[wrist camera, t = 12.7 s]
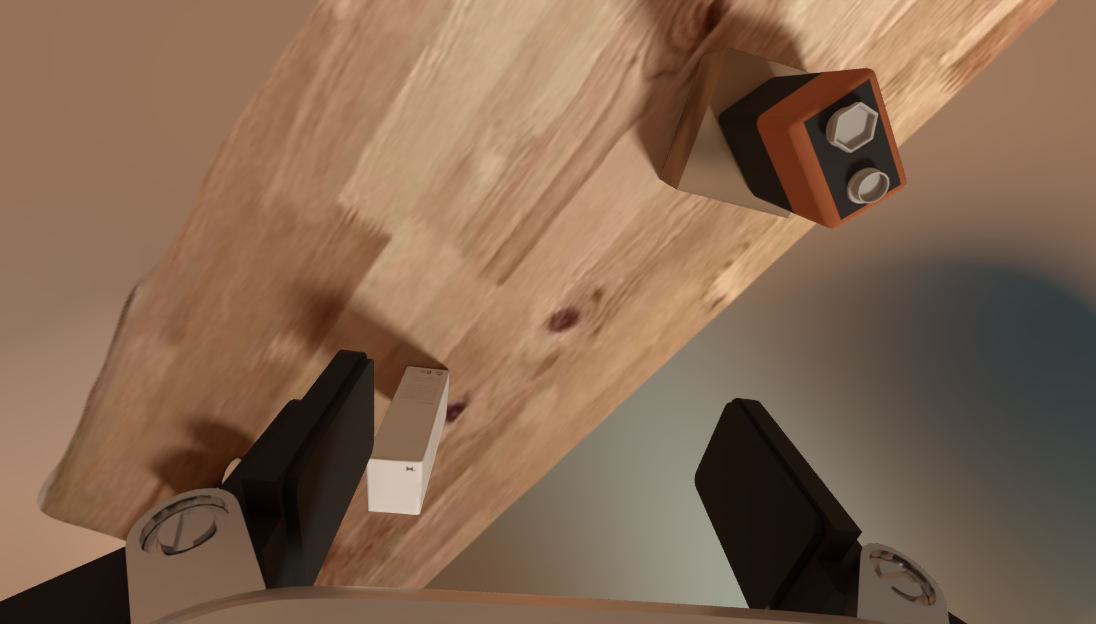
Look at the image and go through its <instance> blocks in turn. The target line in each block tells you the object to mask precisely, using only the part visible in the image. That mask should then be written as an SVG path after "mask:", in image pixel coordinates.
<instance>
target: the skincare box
mask: <svg viewBox="0 0 1096 624" xmlns="http://www.w3.org/2000/svg"><path fill="white" fill-rule="evenodd" d="M448 385H449V371H447V370H440V369H430V368H421V367H413V366H408V367H407V369H406V371H405V373H404V375H403V378H402V380H401V382H400V384H399V386H398V389H397V391H396V393H395V395H394V397H393V399H392V402H391V404H390V406H389V408H388V411H387V413H386V415H385V417H384V419H383V422H382V424H381V426H380V428H379V430H378V433H377V435H376V437H375V439H374V446H373V451H372V454H371V457H370V459H369V462H368V464H367V466H366V471H367V490H368V510H369V511H377V512H390V513H402V514H413V515H419V514H420V511H421V507H422V504H423V500H424V496H425V493H426V489H427V485H428V482H429V478H430V474H431V470H432V467H433V463H434V459H435V455H436V451H437V448H438V444H439V440H440V437H441V433H442V429H443V425H444V422H445V418H446V410H447V398H448Z"/></svg>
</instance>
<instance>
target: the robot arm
mask: <svg viewBox="0 0 1096 624" xmlns="http://www.w3.org/2000/svg"><path fill="white" fill-rule="evenodd" d="M373 446H374V361H373V359H367V355H366V353H365V352H357V351H349V350H340V351H339V352H338V353H337V354H336V356H335V357H334V358H333V359H332V361H331V362H330V363H329V365H328V366H327V367H326V369H325V370H324V371H323V372H322V374H321V375H320V376H319V378H318V379H317V380H316V382H315V383H314V384H313V385H312V387H311V388H310V389H309V391H308V392H307V393H306V395H305V396H304V397H303V399H302V400H298V399H293V400H291V401H289V402H288V403H287V404H286V405H285V407H284V408H283V409H282V410H281V412H280V413H279V414H278V415H277V417H276V418H275V419H274V420H273V422H272V423H271V424H270V425H269V426H268V428H267V429H266V430H265V431H264V433H263V434H262V435H261V436H260V438H259V439H258V440H257V441H256V443H255V444H254V445H253V446H252V448H251V449H250V450H249V451H248V452H247V454H246V455H245V456H244V457H243V459H242V460H241V461H240V462H239V464H238V465H237V466H236V467H235V469H234V470H233V471H232V472H231V474H230V475H229V476H228V477H227V479H226V480H225V481H224V482H223V483H222V485H221V486H220V487H219V488H218V489H215V488H205V489H195V490H192V491H188V492H184V493H181V494H178V495H176V496H174V497H171V498H169V499H167V500H165V501H163V502H161V503H160V504H158V505H157V506H155V507H153V508H152V509H150V510H149V511H148V512H147V513H145V514H144V515H143V516H142V517H141V518H140V519H139V520H138V521H137V522H136V523H135V525H134V526H133V528H132V529H131V531H130V532H129V534H128V536H127V541H126V546H125V547H123V548H121V549H118V550H116V551H114V552H111V553H109V554H107V555H105V556H102V557H100V558H98V559H96V560H93V561H91V562H89V563H87V564H84V565H82V566H80V567H77V568H75V569H73V570H71V571H69V572H66V573H64V574H62V575H59V576H57V577H55V578H53V579H50V580H48V581H46V582H43V583H41V584H39V585H37V586H35V587H32V588H30V589H28V590H25V591H23V592H21V593H19V594H16V595H14V596H12V597H10V598H7V599H5V600H3V601H0V624H967V623H965V622H964V621H962V620H960V619H959V618H957V617H956V616H954V615H953V614H951V613H949V612H948V611H947V604H946V600H945V597H944V595H943V592H942V591H941V589H940V588H939V586H938V584H937V583H936V581H935V580H934V579H933V578H932V577H931V576H930V575H929V574H928V573H927V572H926V571H925V570H924V569H923V568H922V567H921V566H920V565H918V564H917V563H916V562H915V561H914V560H912V559H910V558H909V557H908V556H906V555H904V554H903V553H901V552H899V551H897V550H895V549H893V548H891V547H888V546H886V545H882V544H878V543H869V544H867V545H865V546H863V547H862V546H861V545H860V543H859V542H858V541H857V538H858V537H859V536H860V534H861V533H862V531H861V530H860V529H859V527H858V526H857V525H856V524H855V522H854V521H853V520H852V518H851V517H850V516H849V515H848V514H847V512H846V511H845V510H844V508H843V507H842V506H841V504H840V503H839V502H838V501H837V499H836V498H835V497H834V496H833V494H832V493H831V492H830V491H829V489H828V488H827V487H826V485H825V484H824V483H823V482H822V480H821V479H820V478H819V477H818V475H817V474H816V473H815V471H813V469H812V468H811V466H810V465H809V464H808V463H807V461H806V460H805V459H804V458H803V456H802V455H801V454H800V452H799V451H798V450H797V449H796V447H795V446H794V445H793V443H792V442H791V441H790V440H789V438H788V437H787V436H786V435H785V433H784V432H783V431H782V430H781V428H780V427H779V426H778V424H777V423H776V422H775V421H774V419H773V418H772V417H771V416H770V414H769V413H768V412H767V411H766V409H765V408H764V407H763V406H762V404H761V403H760V402H759V401H756V400H750V399H741V398H736V399H734V400H732V402H730V403H727V404H726V406H725V408H724V410H723V412H722V414H721V417H720V419H719V421H718V424H717V426H716V428H715V430H714V433H713V435H712V437H711V440H710V442H709V444H708V447H707V448H706V451H705V453H704V455H703V457H702V460H701V462H700V464H699V467H698V469H697V471H696V474H695V486H696V489H697V491H698V493H699V495H700V498H701V500H702V502H703V504H704V507H705V509H706V511H707V514H708V516H709V518H710V521H711V523H712V525H713V527H714V529H715V532H716V534H717V536H718V539H719V541H720V543H721V545H722V548H723V550H724V552H725V554H726V557H727V559H728V561H729V563H730V566H731V568H732V570H733V573H734V575H735V577H736V579H737V581H738V584H739V586H740V588H741V590H742V593H743V595H744V597H745V600H746V602H747V604H748V606H749V609H748V608H735V607H719V606H705V605H704V606H703V605H689V604H675V603H674V604H673V603H659V602H642V601H626V600H610V599H592V598H577V597H559V596H543V595H525V594H506V593H488V592H471V591H453V590H434V589H413V588H386V587H359V586H313V585H314V583H315V581H316V578H317V576H318V574H319V572H320V569H321V567H322V565H323V563H324V560H325V558H326V556H327V554H328V551H329V549H330V547H331V545H332V542H333V540H334V538H335V536H336V533H337V531H338V529H339V527H340V524H341V522H342V520H343V518H344V515H345V513H346V511H347V509H348V506H349V504H350V502H351V500H352V498H353V495H354V493H355V491H356V489H357V486H358V484H359V482H360V480H361V477H362V475H363V473H364V471H365V468H366V466H367V464H368V462H369V459H370V457H371V454H372V451H373Z"/></svg>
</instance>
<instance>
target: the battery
mask: <svg viewBox="0 0 1096 624" xmlns="http://www.w3.org/2000/svg"><path fill="white" fill-rule="evenodd" d="M719 123H720V126H721V128H722V130H723V132H724V134H725V137H726V139H727V141H728V143H729V145H730V147H731V149H732V151H733V154H734V156H735V158H736V160H737V162H738V164H739V166H740V169H741V171H742V173H743V175H744V177H745V179H746V181H747V184H748V186H749V188H750V190H751V192H752V194H753V195H754V196H755V197H757V198H759V199H761V200H764V201H766V202H768V203H771V204H773V205H775V206H778V207H780V208H782V209H785V210H787V211H790V212H792V213H794V214H797V215H799V216H801V217H804V218H806V219H808V220H811V221H813V222H816V223H818V224H820V225H823V226H825V227H828V228H831V229H834V228H837V227H839V226H840V225H842V224H844V223H846V222H847V221H849V220H850V219H852V218H854V217H856V216H857V215H859V214H861V213H862V212H864V211H866V210H867V209H869V208H871V207H872V206H874V205H876V204H877V203H879V202H881V201H883V200H884V199H886V198H888V197H889V196H891V195H893V194H894V193H896V192H898V191H899V190H901V189H902V188H904V186H905V185H906V177H905V173H904V169H903V166H902V162H901V159H900V156H899V152H898V149H897V145H896V142H895V139H894V135H893V132H892V128H891V125H890V122H889V118H888V115H887V111H886V108H885V105H884V101H883V98H882V94H881V91H880V88H879V84H878V81H877V78H876V75H875V72H874V71H873V70H871V69H868V68H862V69H852V70H841V71H831V72H821V73H810V74H800V75H790V76H779V77H773V78H771V79H769V80H768V81H766V82H765V83H763V84H762V85H761V86H759V87H758V88H756V89H755V90H753V91H752V92H751V93H749V94H748V95H746V96H745V97H743V98H742V99H741V100H739V101H738V102H736V103H735V104H733V105H732V106H731V107H729V108H728V109H726V110H725V111H723V112H722V113H721V114H720V116H719Z"/></svg>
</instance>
